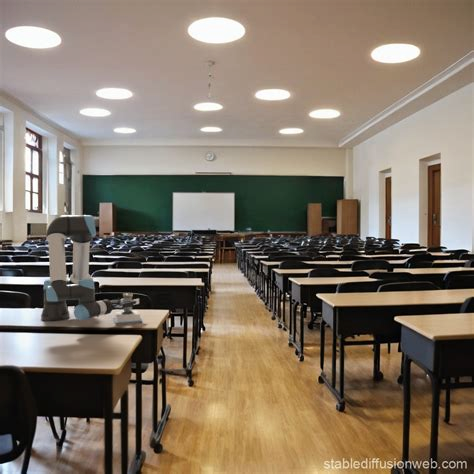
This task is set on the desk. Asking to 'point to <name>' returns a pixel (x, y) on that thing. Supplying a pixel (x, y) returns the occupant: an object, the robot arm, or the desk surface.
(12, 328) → the desk surface
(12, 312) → the desk surface
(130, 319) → the socket block
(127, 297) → the grey metal peg
